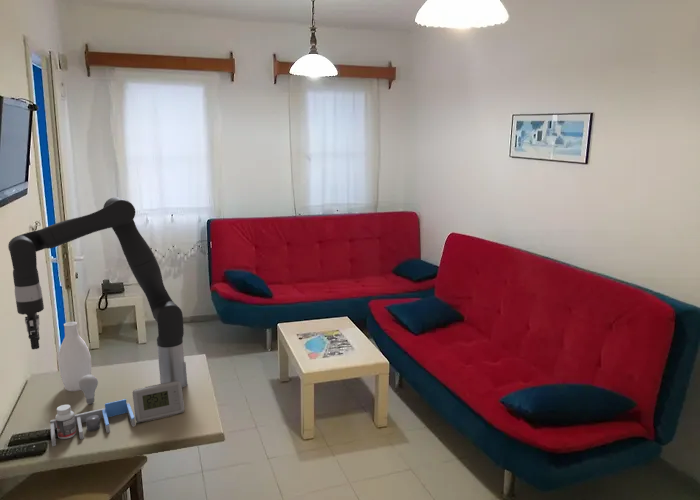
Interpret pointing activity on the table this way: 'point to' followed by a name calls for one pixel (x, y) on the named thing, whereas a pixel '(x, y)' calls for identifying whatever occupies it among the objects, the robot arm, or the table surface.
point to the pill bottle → (65, 422)
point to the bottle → (73, 358)
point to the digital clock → (158, 401)
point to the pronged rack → (97, 417)
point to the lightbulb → (88, 387)
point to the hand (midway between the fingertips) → (35, 344)
